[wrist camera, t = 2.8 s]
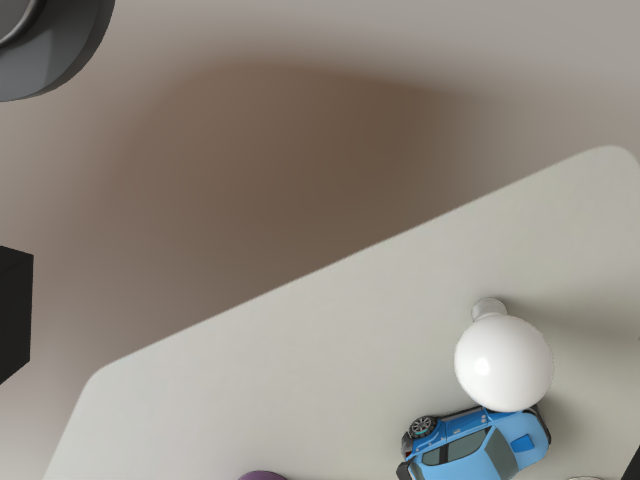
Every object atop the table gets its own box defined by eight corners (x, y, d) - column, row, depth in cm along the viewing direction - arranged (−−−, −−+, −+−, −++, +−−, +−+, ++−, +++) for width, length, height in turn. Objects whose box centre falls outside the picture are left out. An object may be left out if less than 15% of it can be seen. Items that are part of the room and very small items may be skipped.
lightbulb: (508, 354, 45) (536, 446, 35) (435, 328, 45) (441, 411, 35) (543, 289, 43) (584, 367, 33) (466, 261, 43) (482, 330, 33)
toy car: (552, 434, 47) (570, 484, 42) (423, 473, 51) (424, 524, 45) (525, 379, 46) (540, 424, 40) (394, 424, 49) (392, 470, 44)
